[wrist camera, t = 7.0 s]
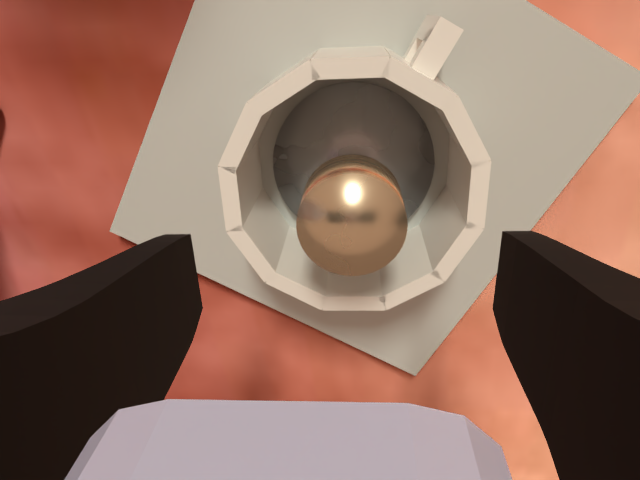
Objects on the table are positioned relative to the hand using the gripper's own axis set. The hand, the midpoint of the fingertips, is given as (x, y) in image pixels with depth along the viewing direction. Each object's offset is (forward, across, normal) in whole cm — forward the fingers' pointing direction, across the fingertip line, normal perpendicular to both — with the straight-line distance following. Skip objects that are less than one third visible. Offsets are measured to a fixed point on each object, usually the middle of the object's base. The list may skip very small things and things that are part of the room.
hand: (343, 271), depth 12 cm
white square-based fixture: (+10, 0, 0) cm, 10 cm away
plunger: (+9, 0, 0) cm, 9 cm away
